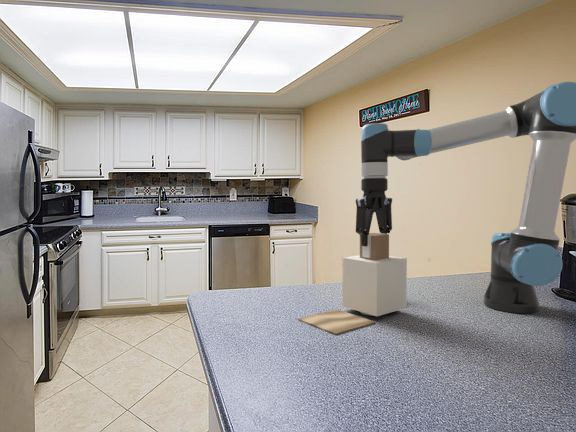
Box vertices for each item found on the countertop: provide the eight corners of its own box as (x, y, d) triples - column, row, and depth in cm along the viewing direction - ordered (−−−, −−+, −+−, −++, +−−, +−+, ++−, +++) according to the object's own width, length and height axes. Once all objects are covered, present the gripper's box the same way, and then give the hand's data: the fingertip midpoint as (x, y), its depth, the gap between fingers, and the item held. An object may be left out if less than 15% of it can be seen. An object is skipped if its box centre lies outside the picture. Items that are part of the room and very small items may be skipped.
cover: (406, 307, 122) (406, 234, 121) (376, 316, 114) (376, 238, 113) (372, 298, 133) (372, 231, 131) (342, 306, 125) (342, 234, 123)
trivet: (375, 323, 113) (375, 321, 113) (335, 335, 104) (335, 333, 104) (336, 310, 125) (336, 309, 125) (298, 320, 116) (298, 318, 116)
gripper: (385, 178, 130) (385, 251, 131) (342, 177, 118) (342, 257, 120) (405, 177, 124) (404, 254, 125) (361, 177, 112) (361, 261, 114)
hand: (374, 255), depth 122 cm, fingers closed on cover, 6 cm apart
